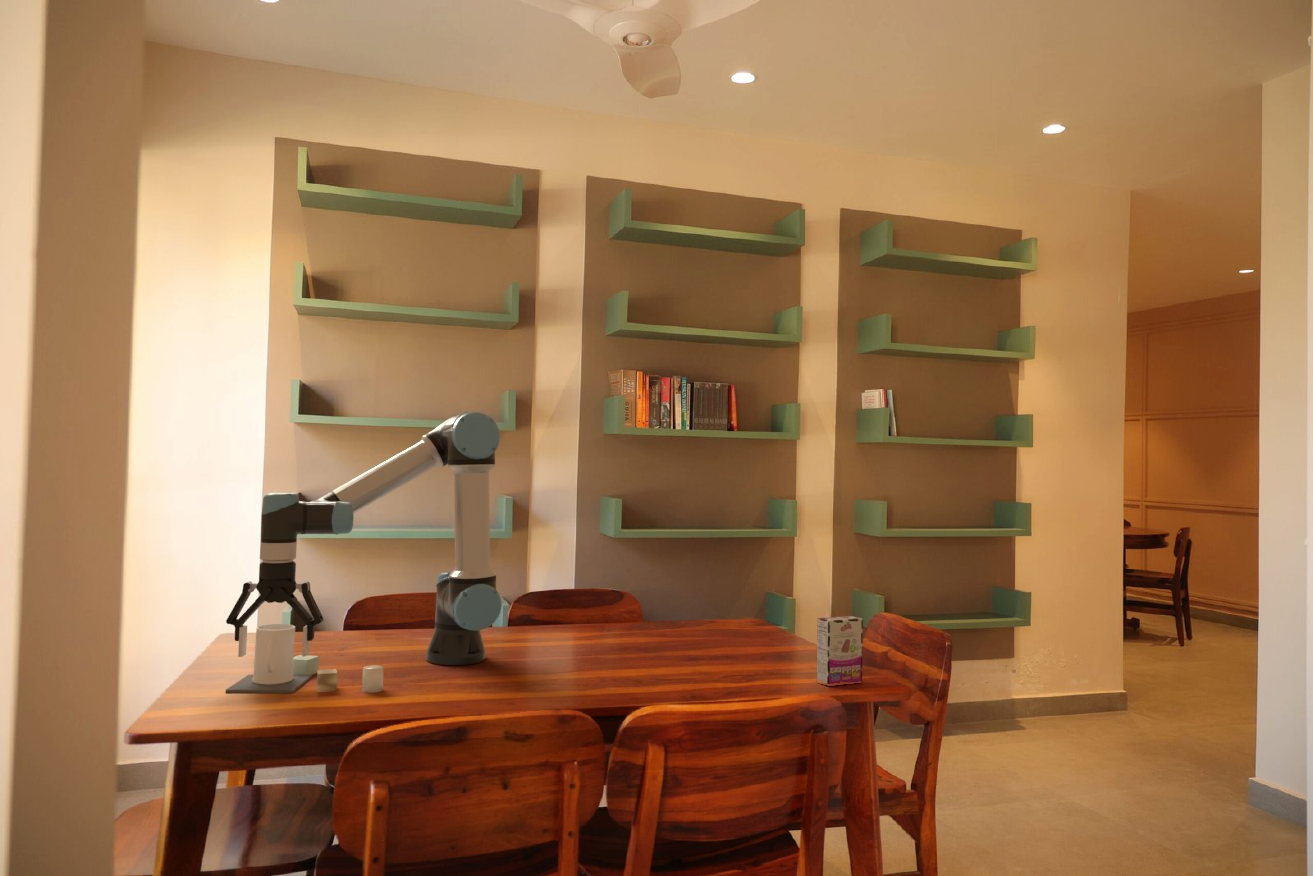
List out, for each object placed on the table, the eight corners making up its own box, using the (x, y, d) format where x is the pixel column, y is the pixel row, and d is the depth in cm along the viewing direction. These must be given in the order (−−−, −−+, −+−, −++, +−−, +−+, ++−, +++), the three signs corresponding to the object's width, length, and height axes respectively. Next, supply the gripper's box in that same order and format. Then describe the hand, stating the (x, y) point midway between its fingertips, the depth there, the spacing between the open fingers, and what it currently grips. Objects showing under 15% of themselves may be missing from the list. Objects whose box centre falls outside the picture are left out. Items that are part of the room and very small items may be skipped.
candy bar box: (849, 679, 215) (851, 615, 215) (862, 684, 210) (864, 618, 211) (814, 682, 209) (816, 617, 210) (827, 687, 205) (829, 620, 206)
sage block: (318, 672, 201) (319, 656, 201) (306, 677, 196) (307, 660, 196) (299, 671, 202) (300, 654, 202) (286, 675, 197) (288, 658, 197)
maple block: (335, 687, 188) (336, 669, 188) (336, 691, 184) (337, 673, 185) (316, 688, 186) (317, 670, 187) (316, 692, 183) (317, 674, 183)
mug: (283, 688, 182) (287, 633, 183) (242, 688, 181) (245, 633, 181) (297, 676, 194) (300, 624, 194) (258, 676, 192) (261, 623, 193)
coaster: (311, 677, 195) (311, 675, 195) (293, 693, 181) (293, 690, 181) (248, 677, 193) (248, 674, 193) (225, 692, 179) (225, 689, 179)
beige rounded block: (384, 687, 189) (385, 665, 189) (380, 692, 184) (381, 669, 185) (364, 687, 188) (365, 665, 188) (359, 692, 184) (361, 669, 184)
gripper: (339, 559, 194) (335, 651, 193) (226, 558, 191) (221, 652, 190) (331, 563, 187) (327, 658, 186) (213, 562, 183) (208, 659, 182)
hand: (273, 655), depth 188 cm, fingers open, 13 cm apart
